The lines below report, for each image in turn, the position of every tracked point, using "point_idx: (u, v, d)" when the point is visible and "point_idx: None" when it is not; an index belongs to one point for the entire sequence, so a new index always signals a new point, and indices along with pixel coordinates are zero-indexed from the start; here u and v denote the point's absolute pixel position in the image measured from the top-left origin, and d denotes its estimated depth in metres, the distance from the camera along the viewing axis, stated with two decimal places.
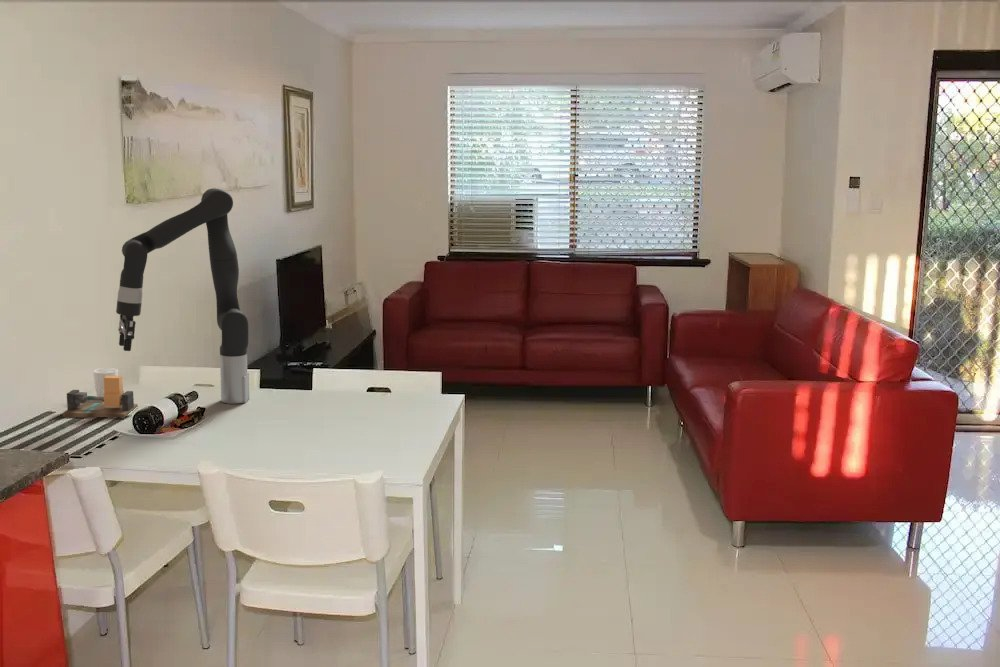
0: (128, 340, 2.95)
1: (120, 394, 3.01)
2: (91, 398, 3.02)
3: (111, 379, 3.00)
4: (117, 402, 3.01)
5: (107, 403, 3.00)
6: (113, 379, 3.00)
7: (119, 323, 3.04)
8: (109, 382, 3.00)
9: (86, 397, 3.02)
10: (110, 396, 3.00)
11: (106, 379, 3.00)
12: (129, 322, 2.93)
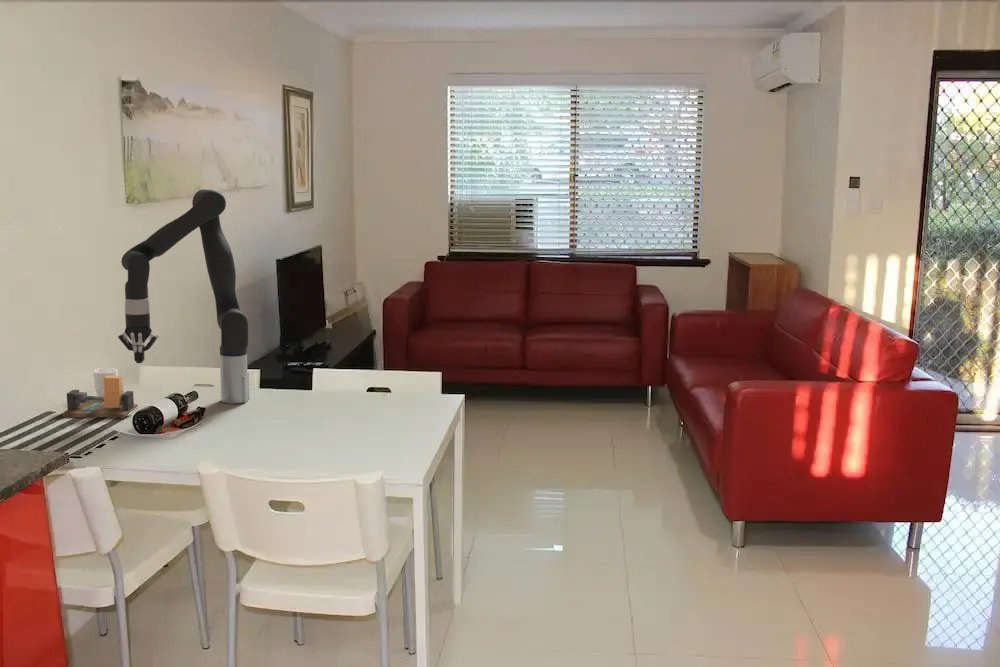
0: (143, 352, 3.00)
1: (120, 394, 3.01)
2: (91, 398, 3.02)
3: (111, 379, 3.00)
4: (117, 402, 3.01)
5: (107, 403, 3.00)
6: (113, 379, 3.00)
7: (125, 344, 2.98)
8: (109, 382, 3.00)
9: (86, 397, 3.02)
10: (110, 396, 3.00)
11: (106, 379, 3.00)
12: (156, 338, 2.98)
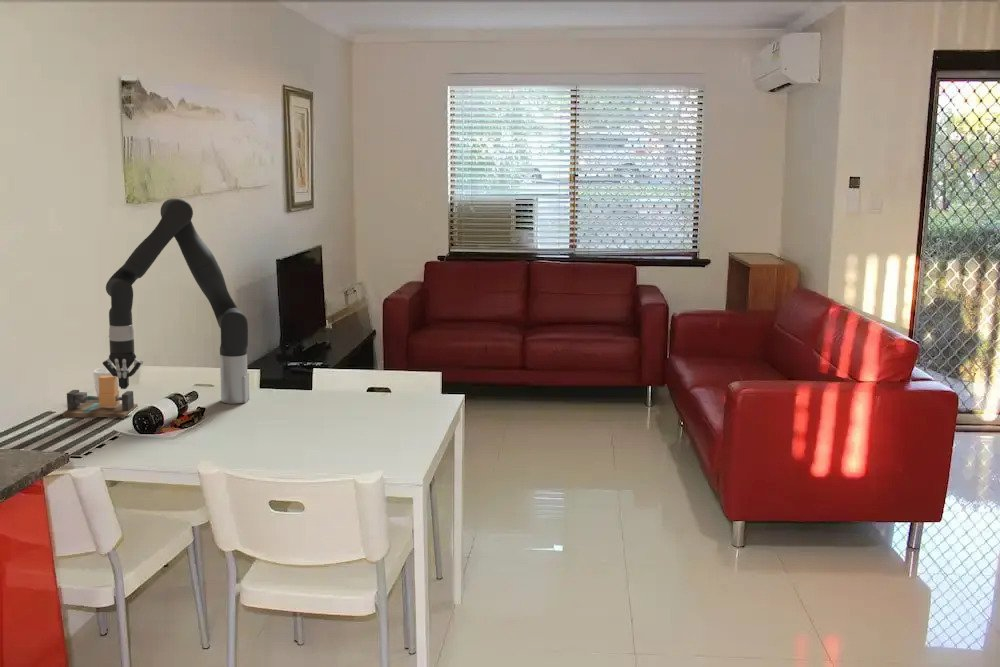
0: (128, 377, 3.01)
1: (115, 394, 3.01)
2: (91, 398, 3.02)
3: (106, 379, 3.00)
4: (112, 402, 3.00)
5: (102, 403, 3.00)
6: (108, 379, 3.00)
7: (109, 370, 2.99)
8: (104, 382, 3.00)
9: (86, 397, 3.02)
10: (105, 396, 3.00)
11: (101, 379, 2.99)
12: (140, 364, 3.00)
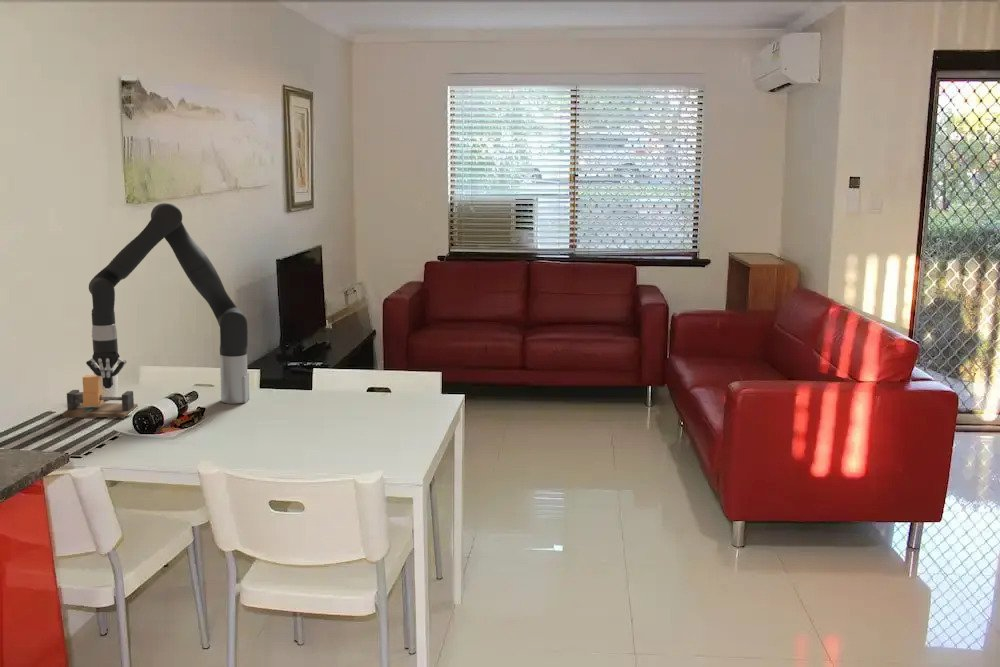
0: (111, 377, 3.01)
1: (99, 394, 3.01)
2: None
3: (90, 378, 2.99)
4: (96, 402, 3.00)
5: (86, 402, 3.00)
6: (92, 378, 2.99)
7: (93, 369, 2.99)
8: (88, 381, 2.99)
9: None
10: (89, 396, 3.00)
11: (85, 378, 2.99)
12: (124, 363, 2.99)
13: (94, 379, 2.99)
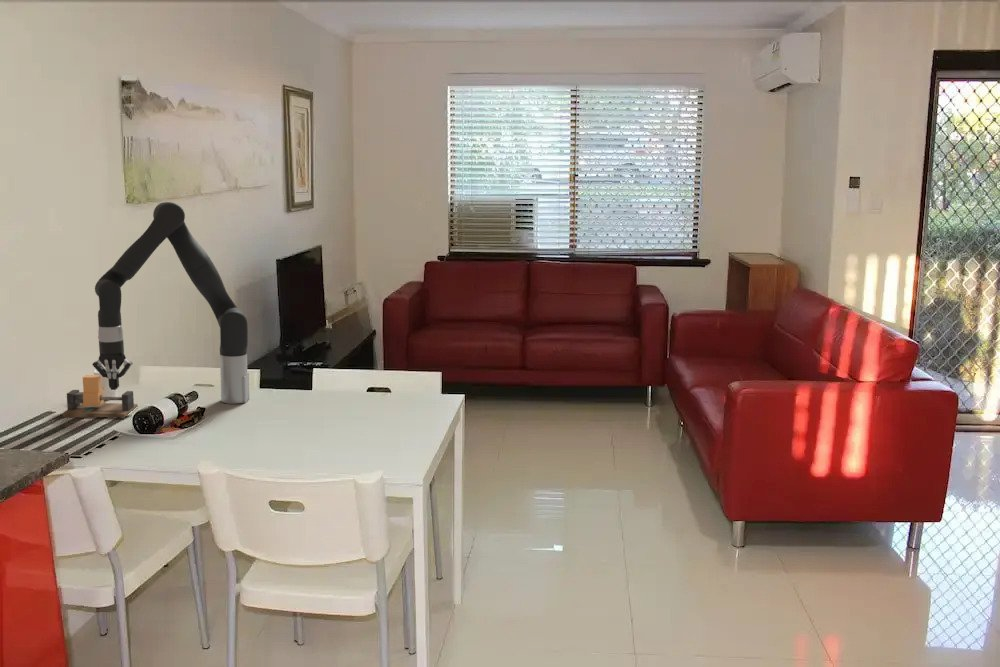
0: (118, 378, 3.01)
1: (99, 394, 3.01)
2: None
3: (90, 378, 2.99)
4: (96, 402, 3.00)
5: (87, 402, 3.00)
6: (92, 378, 2.99)
7: (99, 371, 2.99)
8: (88, 381, 2.99)
9: None
10: (89, 396, 3.00)
11: (85, 378, 2.99)
12: (130, 365, 3.00)
13: (94, 379, 2.99)
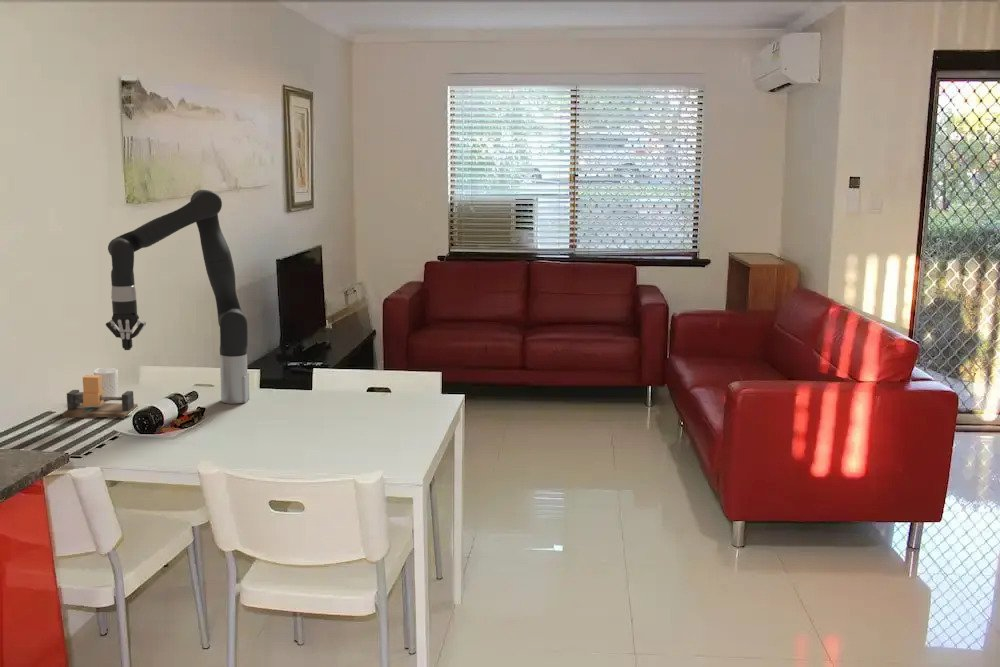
0: (131, 339, 3.00)
1: (99, 394, 3.01)
2: None
3: (90, 378, 2.99)
4: (96, 402, 3.00)
5: (87, 402, 3.00)
6: (92, 378, 2.99)
7: (112, 331, 2.99)
8: (88, 381, 2.99)
9: None
10: (89, 396, 3.00)
11: (85, 378, 2.99)
12: (143, 325, 2.99)
13: (94, 379, 2.99)
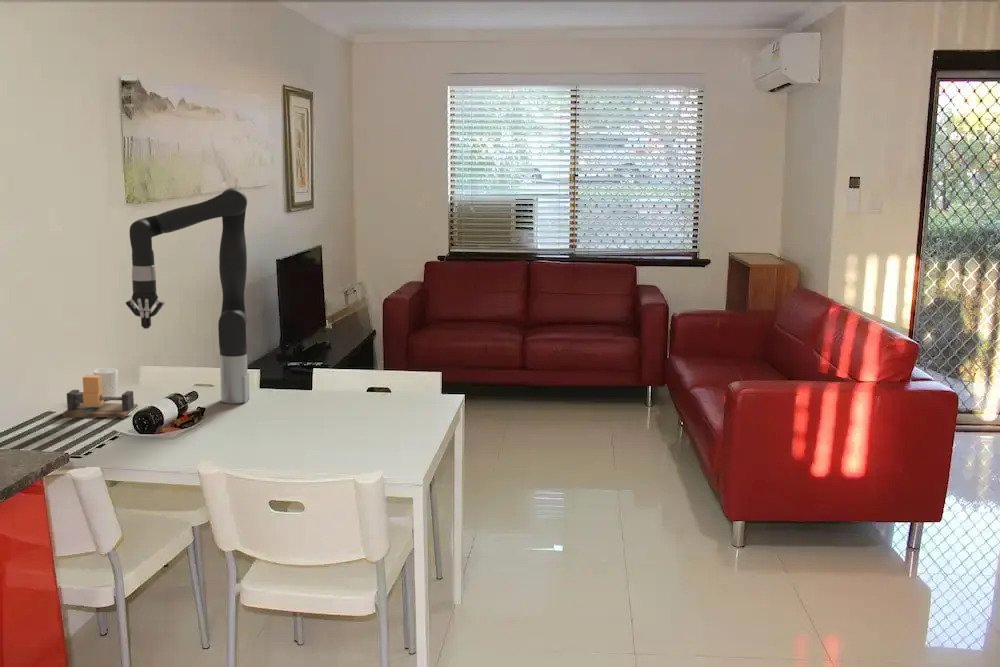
0: (150, 317, 3.09)
1: (99, 394, 3.01)
2: None
3: (90, 378, 2.99)
4: (96, 402, 3.00)
5: (87, 402, 3.00)
6: (92, 378, 2.99)
7: (132, 310, 3.07)
8: (88, 381, 2.99)
9: None
10: (89, 396, 3.00)
11: (85, 378, 2.99)
12: (162, 304, 3.08)
13: (94, 379, 2.99)
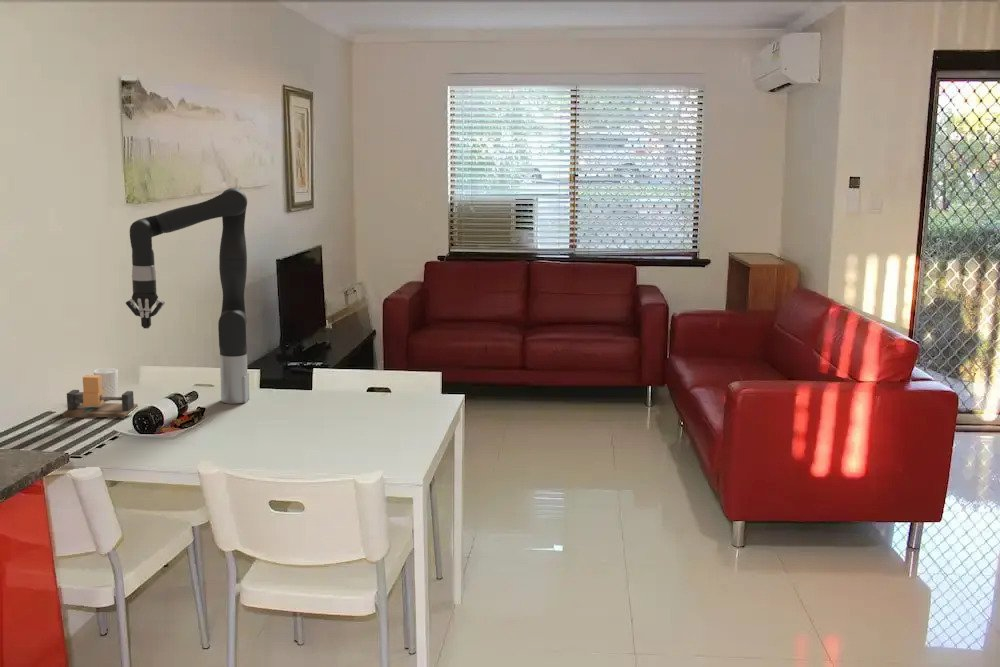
0: (150, 317, 3.09)
1: (99, 394, 3.01)
2: None
3: (90, 378, 2.99)
4: (96, 402, 3.00)
5: (87, 402, 3.00)
6: (92, 378, 2.99)
7: (132, 309, 3.07)
8: (88, 381, 2.99)
9: None
10: (89, 396, 3.00)
11: (85, 378, 2.99)
12: (162, 304, 3.08)
13: (94, 379, 2.99)
